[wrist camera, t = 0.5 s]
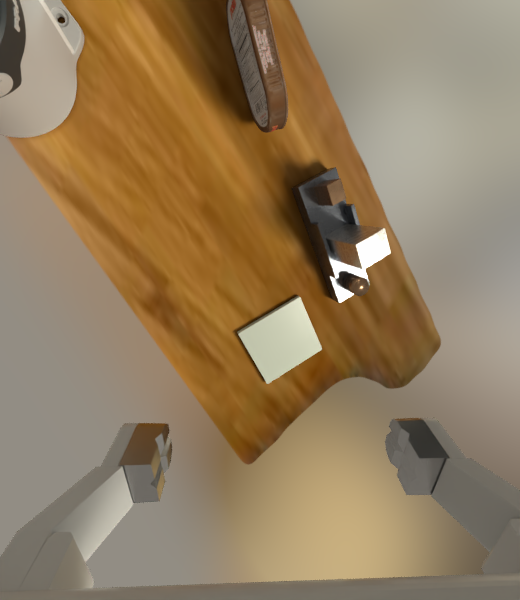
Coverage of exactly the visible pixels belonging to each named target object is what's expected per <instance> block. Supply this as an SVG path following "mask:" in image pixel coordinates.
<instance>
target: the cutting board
mask: <svg viewBox="0 0 520 600" xmlns="http://www.w3.org/2000/svg"><path fill="white" fill-rule="evenodd" d="M237 333H238V335H239V336H240V338H241V340H242V342H243V343H244V345H245V347H246V348H247V350H248V352H249V354H250V355H251V357H252V359H253V360H254V362H255V364H256V366H257V367H258V369H259V371H260V373H261V374H262V376H263V378H264V379H265V381H266V383H267V384H268V383H270V382H272V381H273V380H275V379H276V378H278V377H279V376H281V375H283V374H284V373H286V372H287V371H289V370H290V369H292V368H294V367H295V366H297V365H298V364H300V363H301V362H303V361H305V360H306V359H308V358H309V357H311V356H312V355H314V354H316V353H317V352H319V351H320V350H322V348H321V345H320V343H319V340H318V338H317V336H316V333H315V331H314V329H313V326H312V324H311V322H310V319H309V317H308V315H307V312H306V310H305V307H304V305H303V303H302V300H301V298H300V297H299V296H297V297H295V298H293V299H291V300H290V301H288V302H286V303H285V304H283V305H281V306H280V307H278V308H276V309H275V310H273V311H271V312H270V313H268V314H266V315H265V316H263V317H261V318H260V319H258V320H256V321H255V322H253V323H251V324H249V325H248V326H246V327H244V328H243V329H241V330H239V331H238V332H237Z"/></svg>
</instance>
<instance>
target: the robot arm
mask: <svg viewBox="0 0 520 600" xmlns="http://www.w3.org/2000/svg"><path fill="white" fill-rule="evenodd" d="M59 17H63V18H64V19H65V22H64V23H63V24H61V23H59V22H58V18H59ZM83 45H84V34H83V31H82V29H81V28H80V26H79V25H78V23H77V22H76V20H75V19H74V18H73V16H72V15H71V14H70V12H69V11H68V10H67V8H66V7H65V6H64V4H63V3H62V2H61V0H0V135H4V136H9V137H22V138H24V137H34V136H39V135H42V134H45V133H47V132H49V131H51V130H53V129H55V128H56V127H57V126H59V125H60V124H61V123H62V122H63V121H64V120H65V119H66V117H67V116H68V114H69V113H70V111H71V109H72V107H73V104H74V101H75V97H76V89H77V78H76V64H77V60H78V58H79V56H80V53H81V51H82V48H83ZM389 427H390V429H391V432H390V433H389V434H388V435H387V437H386V441H385V444H386V451H387V455H388V457H389V460H390V462H391V463H392V464H393V465H394V466H395V467H396V468H398V473H397V476H398V478H399V480H400V482H401V484H402V486H403V489H404V491H405V492H406V494H407V495H432V497H433V498H434V499H435V500H436V501H437V502H438V503H439V504H440V505H441V506H442V507H443V508H444V509H445V510H446V511H447V512H448V513H449V514H450V515H451V516H453V518H454V519H456V520H457V521H458V522H459V523H460V524H461V525H462V526H463V527H464V528H465V529H466V530H467V531H468V532H469V533H470V534H471V535H472V536H473V537H474V538H475V539H476V540H477V541H479V542H480V543H481V544H482V545H483V546H484V547H485V548H486V549H487V550H488V551H489V552H490V553H489V554H488V556H487V557H486V559H485V561H484V562H483V564H482V568H481V569H482V570H483V572H484V574H480V575H479V574H478V575H451V576H421V577H396V578H395V577H393V578H364V579H337V580H310V581H281V582H280V581H279V582H255V583H254V582H251V583H223V584H197V585H196V584H195V585H167V586H140V587H112V588H92V587H93V584H94V580H93V577H92V575H91V573H90V571H89V569H88V567H87V565H86V563H85V562H86V561H87V560H88V559H89V557H90V556H91V555H92V554H93V553H94V551H95V550H96V549H97V548H98V547H99V545H100V544H101V543H102V542H103V540H104V539H105V538H106V537H107V536H108V534H109V533H110V532H111V531H112V530H113V529H114V527H115V526H116V525H117V524H118V522H119V521H120V520H121V519H122V518H123V517H124V515H125V514H126V513H127V512H128V511H129V509H130V508H131V507H132V506H133V503H140V502H156V501H160V498H161V494H162V491H163V487H164V483H165V478H164V473H165V472H166V471H167V469H168V468H169V465H170V462H171V455H172V442H171V439H170V438H169V437H168V434H169V425H168V424H159V423H158V424H156V423H154V424H153V423H151V424H150V423H138V424H136V423H135V424H132V423H131V424H128V423H127V424H126V423H125V424H124V425H123V426H122V427H121V428H120V430H119V432H118V434H117V436H116V438H115V440H114V442H113V444H112V446H111V448H110V449H109V451H108V453H107V456H106V457H105V459H104V461H103V463H102V465H101V467H95V468H94V469H93V470H92V471H91V472H89V473H88V474H87V475H86V476H84V477H83V478H82V479H81V480H80V481H78V482H77V483H76V484H75V485H73V486H72V487H71V488H70V489H69V490H67V491H66V492H65V493H64V494H63V495H61V496H60V497H59V498H58V499H56V500H55V501H54V502H53V503H51V504H50V505H49V506H48V507H47V508H45V509H44V510H43V511H42V512H40V513H39V514H38V515H37V516H36V517H35V518H33V519H32V520H31V521H29V522H28V523H27V524H26V525H25V526H24V527H22V528H21V529H20V530H18V531H17V533H16V534H15V536H14V537H13V539H12V540H11V542H10V543H9V545H8V546H7V548H6V549H5V551H4V552H3V554H2V555H1V557H0V600H520V490H518V489H517V488H516V487H514V486H513V485H511V484H510V483H508V482H507V481H505V480H503V479H502V478H500V477H499V476H497V475H495V474H494V473H493V472H491V471H490V470H488V469H486V468H485V467H484V466H482V465H480V464H479V463H477V462H476V461H474V460H473V459H471V458H466V457H465V455H464V454H463V453H462V451H461V450H460V449H459V447H458V446H457V445H456V444H455V442H454V441H453V440H452V438H451V437H450V436H449V434H448V433H447V432H446V430H445V429H444V428H443V426H442V425H441V424H440V423H439V421H438V420H437V419H435V418H420V419H419V418H407V419H392V421H391V422H390V425H389Z"/></svg>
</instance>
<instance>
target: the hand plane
mask: <svg viewBox="0 0 520 600" xmlns="http://www.w3.org/2000/svg"><path fill="white" fill-rule="evenodd" d="M292 191H293V194H294V196H295V199H296V202H297V205H298V207H299V210H300V213H301V216H302V218H303V221H304V224H305V227H306V229H307V232H308V235H309V237H310V240H311V243H312V246H313V248H314V251H315V254H316V257H317V259H318V262H319V265H320V268H321V270H322V273H323V276H324V278H325V281H326V284H327V287H328V289H329V292H330V295H331V298H332V299H333V300H335V301H336V302H338V303H341V302H342V301H344V300H345V299H347V298H349V297H350V296H352V295H354V294H355V295H358V296H362V295H364V294H365V293H366V292H367V291H368V289H369V285H370V284H369V281H368V277H367V274H366V270H365V269H364V270H362V269H359V268H356V267H353V266H350V265H347V264H344V263H341V262H338V261H335V260H333V258H332V255H331V252H330V249H329V246H328V243H327V240H326V237H325V236H326V235H328V234H329V233H331V232H333V231H335V230H336V229H338V228H340V227H342V226H343V225H345V224H354V225H360V224H359V220H358V217H357V213H356V210H355V206H354V204H346V201H345V199H346V196H345V192H344V189H343V185H342V182H341V178H340V179H339V176H338V173H337V169H336V167H335V168H330V169H327V170H325V171H323V172H321V173H319V174H317V175H315V176H313V177H311V178H310V179H308V180H306V181H304V182H302V183H300V184H298V185H296V186H295V187H293V188H292Z"/></svg>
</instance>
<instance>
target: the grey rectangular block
mask: <svg viewBox="0 0 520 600" xmlns="http://www.w3.org/2000/svg"><path fill="white" fill-rule="evenodd" d="M325 237H326V240H327V243H328V246H329V249H330V252H331V255H332V258H333V260H335V261H338V262H341V263H344V264H347V265H350V266H353V267H356V268H359V269H362V270H364V269H365V268H367V267H369V266H370V265H372V264H374V263H375V262H377V261H378V260H380V259H382V258H383V257H385V256H387V255H388V254H390V248H389V244H388V240H387V236H386V231H385V228H379V227H371V226H362V225H354V224H345V225H343V226H342V227H340V228H338V229H336V230H335V231H333V232H331V233H329V234H328V235H326V236H325Z"/></svg>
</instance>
